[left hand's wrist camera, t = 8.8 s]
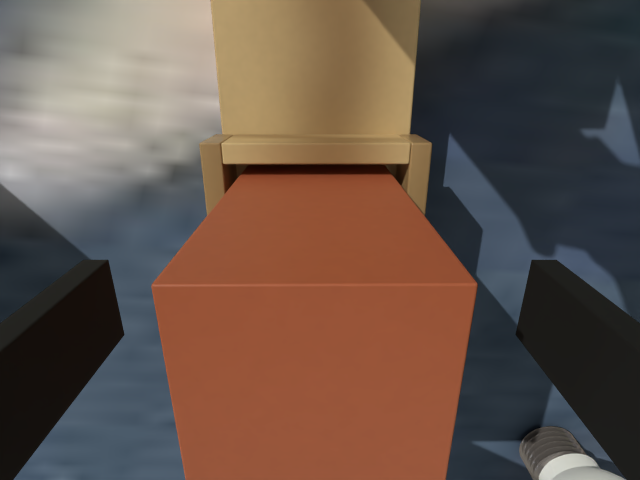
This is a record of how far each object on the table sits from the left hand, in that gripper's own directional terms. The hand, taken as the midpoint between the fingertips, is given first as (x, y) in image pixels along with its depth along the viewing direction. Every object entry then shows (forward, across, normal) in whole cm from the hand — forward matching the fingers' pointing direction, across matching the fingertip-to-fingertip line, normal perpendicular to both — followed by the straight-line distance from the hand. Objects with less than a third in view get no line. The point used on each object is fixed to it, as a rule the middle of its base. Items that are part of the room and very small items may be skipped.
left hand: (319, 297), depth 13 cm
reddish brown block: (+6, 0, 0) cm, 6 cm away
